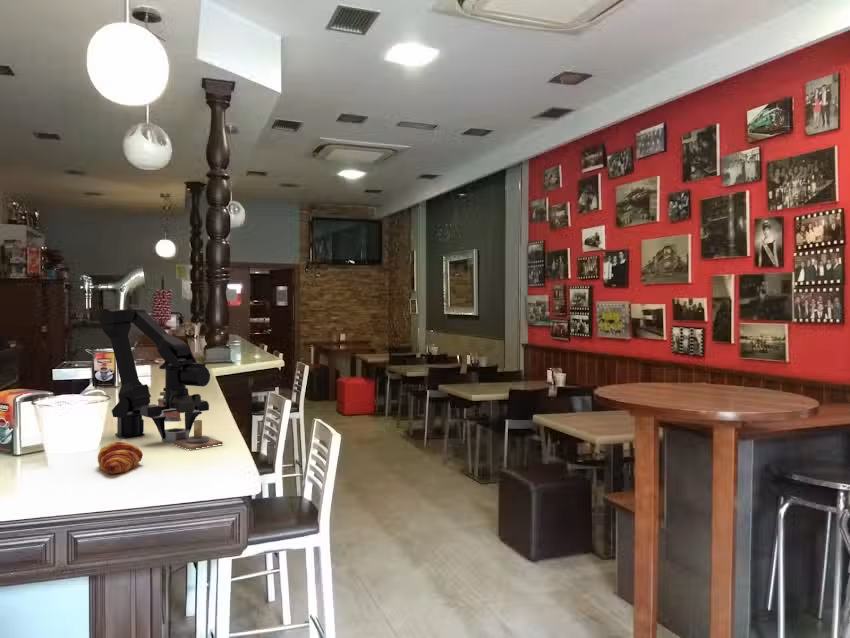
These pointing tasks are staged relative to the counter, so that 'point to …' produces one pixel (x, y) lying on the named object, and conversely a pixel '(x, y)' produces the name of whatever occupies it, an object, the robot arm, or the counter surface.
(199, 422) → the peg stand
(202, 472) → the counter surface
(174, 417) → the lighter
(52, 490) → the counter surface
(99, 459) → the croissant
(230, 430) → the counter surface
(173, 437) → the ring
